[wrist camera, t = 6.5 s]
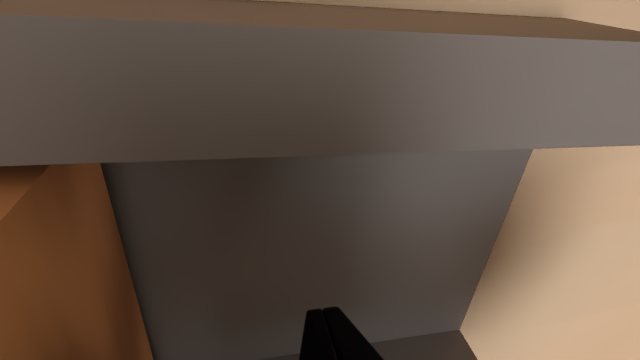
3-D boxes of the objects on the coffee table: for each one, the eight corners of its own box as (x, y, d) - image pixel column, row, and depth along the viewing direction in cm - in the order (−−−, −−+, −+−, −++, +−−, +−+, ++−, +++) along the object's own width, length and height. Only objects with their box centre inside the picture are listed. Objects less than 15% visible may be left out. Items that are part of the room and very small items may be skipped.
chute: (440, 346, 17) (487, 431, 14) (-82, 429, 13) (-181, 577, 10) (566, 18, 10) (717, 45, 7) (-546, -46, 5) (-1519, -52, 2)
